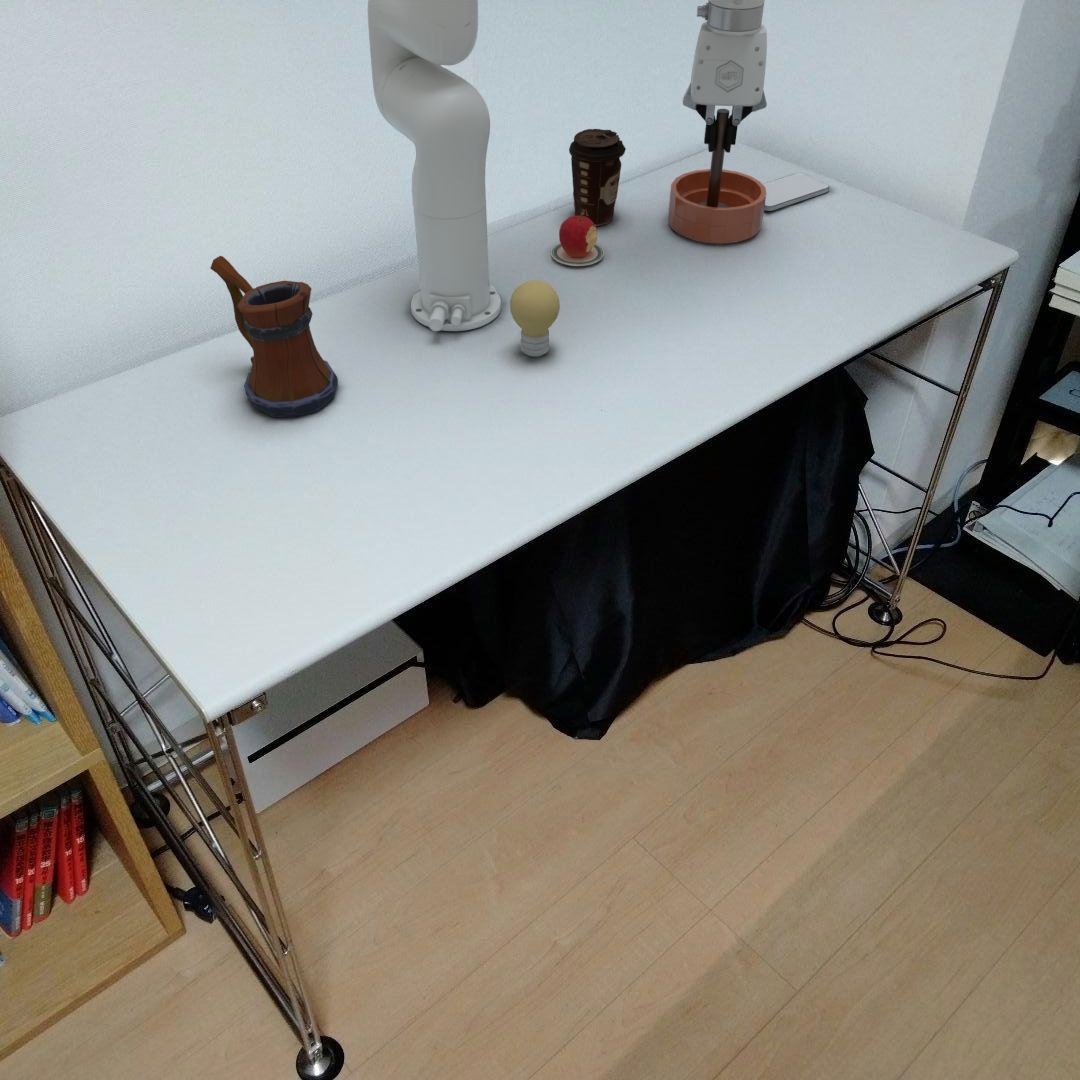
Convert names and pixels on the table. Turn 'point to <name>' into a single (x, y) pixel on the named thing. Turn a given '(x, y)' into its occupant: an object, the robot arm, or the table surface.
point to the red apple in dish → (577, 242)
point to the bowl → (716, 222)
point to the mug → (279, 345)
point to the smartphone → (792, 190)
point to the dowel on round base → (717, 161)
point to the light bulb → (534, 315)
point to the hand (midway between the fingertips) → (718, 147)
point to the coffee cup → (596, 173)
